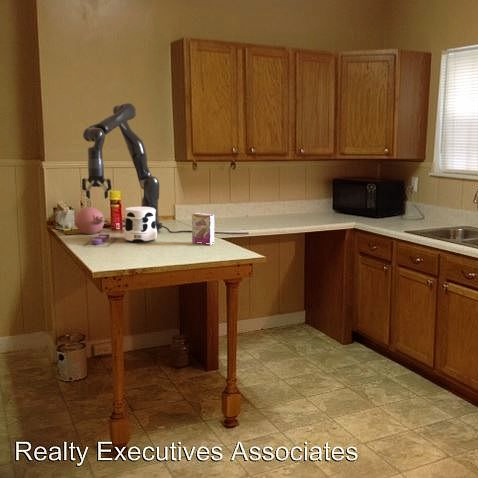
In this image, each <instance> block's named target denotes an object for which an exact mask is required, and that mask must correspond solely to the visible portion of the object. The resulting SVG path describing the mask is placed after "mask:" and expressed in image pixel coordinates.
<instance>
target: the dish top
mask: <svg viewBox="0 0 478 478" xmlns="http://www.w3.org/2000/svg"><path fill="white" fill-rule="evenodd" d="M98 236H106V239H108V238H111V235H110V233H108V232H101V233H98Z"/></svg>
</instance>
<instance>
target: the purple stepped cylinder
mask: <svg viewBox="0 0 478 478" xmlns="http://www.w3.org/2000/svg"><path fill="white" fill-rule="evenodd" d="M90 244H93V245H92V246H94V245H98V246H100V245H99V244H102V239H99V238H96V239H95V238H91V239H90Z"/></svg>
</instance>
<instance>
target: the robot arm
mask: <svg viewBox="0 0 478 478" xmlns="http://www.w3.org/2000/svg"><path fill="white" fill-rule="evenodd" d="M136 116H137V109H136V107H135V105H134V104H133V103H131V102H123V103H120V104H116V105H113V107H112V115H108V116H106V117H105V118H103V119H102V120H100V121H99V122H98V123H95V124H91V125H90V126H87V127H86V128H85V129H84V130H83V132H82V137H83V139H84V141H86V142H89V143H94V144H93V145H92V146H88V148H87V173H88V174H87V175H88V178H85V177H83V178H82V180H81V190H82V191H85V196H86V198H87V199H91V191H90V190H91V189H92V188H96V187H97V188H100V187H101V188H102V189H103V190H104V191H103V193H104V199H105V200H106V199H108V198H109V191H111V190H112V180H111V178H110V177H109V178H105V170H104V160H103V148H104V143H105V138H106V135H109V134H110V133H111V132H112V131H113V130H114V129H116V128H117V127H118V128H119V130H120V132H121V134H122V137H123V140H124V143H125V145H126V149H127V151H128V154H129V156H130V159H131V162H132V164H133V167H134V169H135V172H136V176H137V181H138V184H139V187H140V188H141V189H142V190H143V196H142V198H141V207H152V208H154V209H155V225H156V229H157V234H159V232H160V230H161V229H162V228H163V229H166V230H167V232H168V233H171V234H178V233H192V230H178V231H172V230H170V229H169V227H167V226H165V225H163V223H162V222H160V215H159V200H160V181H159V179H158V178H157V177H156V176H153V175H152V173H151V171H150V169H149V168H150V167H149V165H148V156H147V150H146V147H145V144H144V142H143V140H142V139H141V137H140V136H139V135H138V134H137V133H136V132H134V130H132V128H131V126H130V125H129V123H128V121H131V120H133V119H135V117H136ZM87 183H89V184H88V186H87ZM105 183H106V184H107V186H106V184H105ZM214 234H220V235H221V234H224V235H249V232H248V231H247V232H244V231H243V232H233V231H232V232H228V231H227V232H225V231H214Z"/></svg>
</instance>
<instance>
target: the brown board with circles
mask: <svg viewBox="0 0 478 478" xmlns="http://www.w3.org/2000/svg"><path fill="white" fill-rule="evenodd" d="M111 239H112V237H110V238H108V239H106V241H104V242H102V244H99V245H93V244H91V243H90V246H93V247H95V246H103V245H104V243H108V241H109V240H111Z"/></svg>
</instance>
